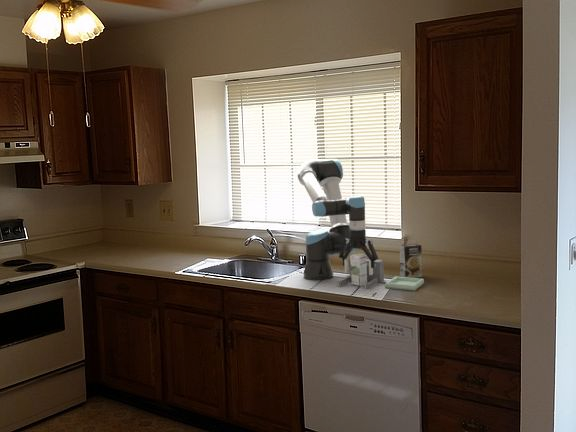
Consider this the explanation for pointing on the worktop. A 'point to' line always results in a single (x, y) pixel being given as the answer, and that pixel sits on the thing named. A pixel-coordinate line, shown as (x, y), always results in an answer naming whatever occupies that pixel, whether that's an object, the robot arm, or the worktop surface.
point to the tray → (404, 283)
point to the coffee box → (410, 260)
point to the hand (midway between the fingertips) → (358, 273)
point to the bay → (373, 279)
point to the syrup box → (358, 269)
